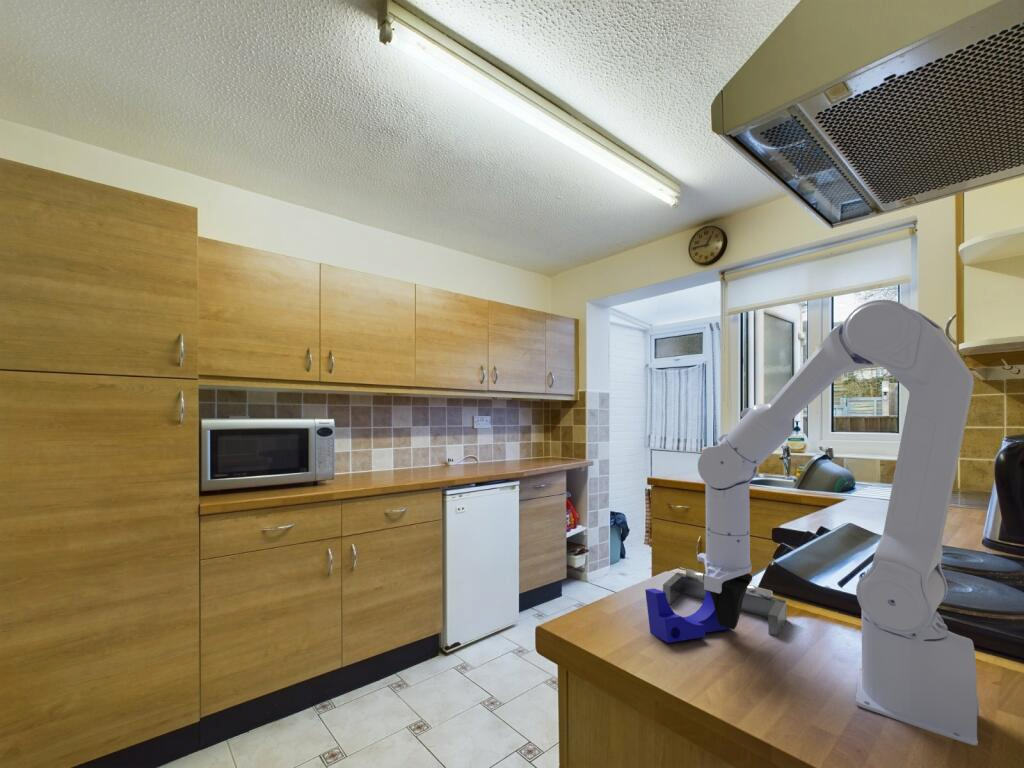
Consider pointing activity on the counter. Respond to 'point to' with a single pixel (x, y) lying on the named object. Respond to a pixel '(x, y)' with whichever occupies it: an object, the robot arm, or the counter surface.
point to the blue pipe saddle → (679, 618)
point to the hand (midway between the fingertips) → (727, 625)
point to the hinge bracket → (753, 602)
